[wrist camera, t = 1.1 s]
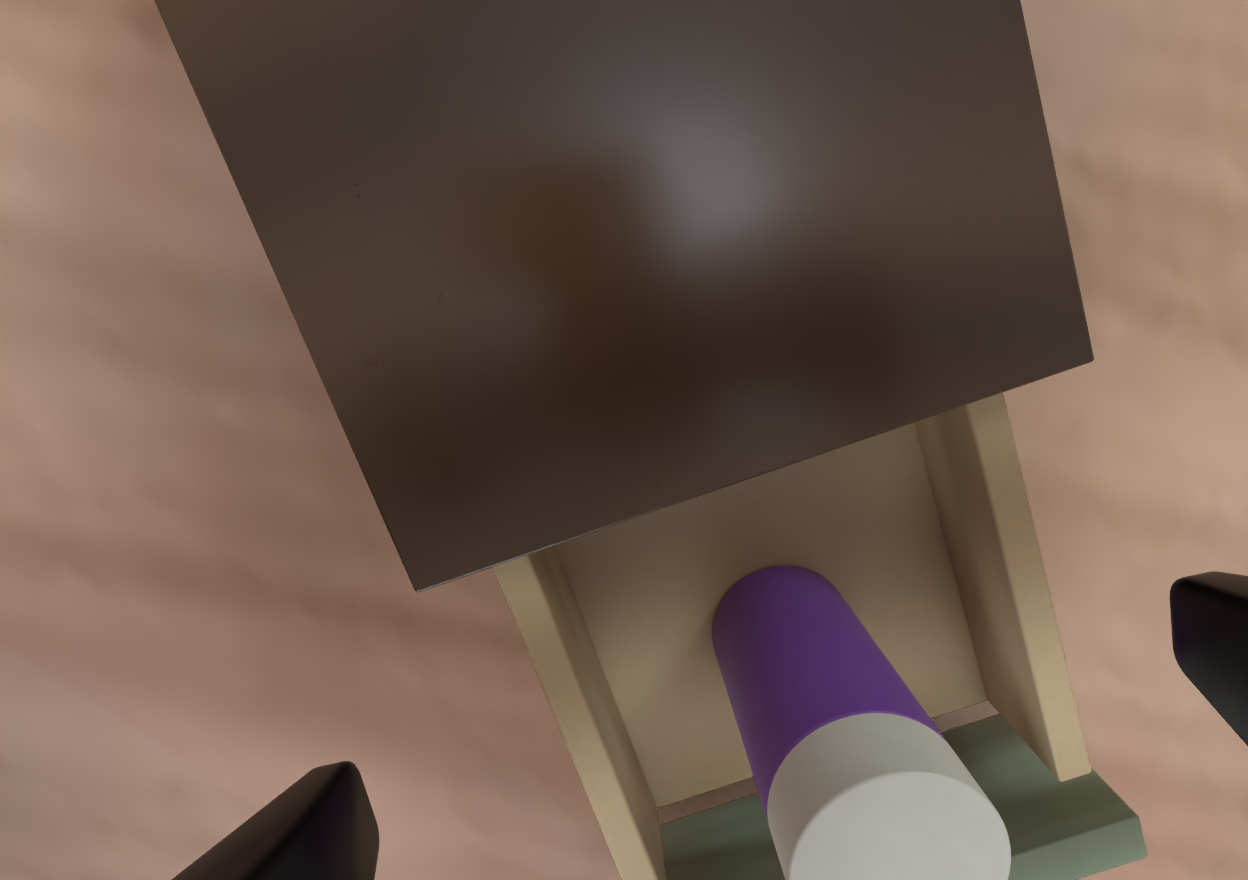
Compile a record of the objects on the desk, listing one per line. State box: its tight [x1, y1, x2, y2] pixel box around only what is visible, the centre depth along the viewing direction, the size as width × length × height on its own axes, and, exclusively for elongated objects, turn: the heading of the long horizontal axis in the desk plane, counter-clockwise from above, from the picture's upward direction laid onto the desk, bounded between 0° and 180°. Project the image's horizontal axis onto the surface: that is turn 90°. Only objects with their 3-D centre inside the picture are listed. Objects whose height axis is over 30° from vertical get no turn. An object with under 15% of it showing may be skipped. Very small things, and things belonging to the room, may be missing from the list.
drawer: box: [493, 392, 1147, 880], centre depth 20 cm, size 19×12×5 cm, turn 19°
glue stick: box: [712, 566, 1011, 880], centre depth 17 cm, size 4×4×8 cm
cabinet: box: [154, 0, 1094, 592], centre depth 17 cm, size 16×14×7 cm
